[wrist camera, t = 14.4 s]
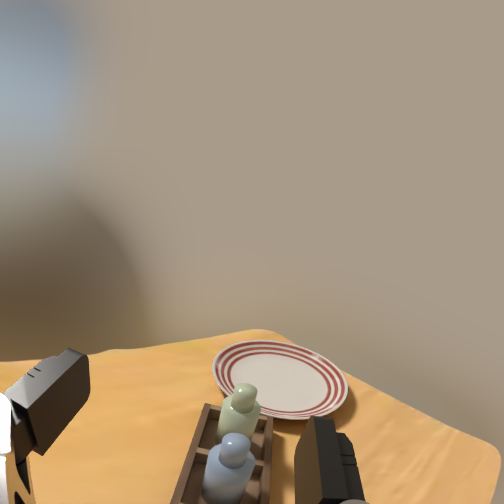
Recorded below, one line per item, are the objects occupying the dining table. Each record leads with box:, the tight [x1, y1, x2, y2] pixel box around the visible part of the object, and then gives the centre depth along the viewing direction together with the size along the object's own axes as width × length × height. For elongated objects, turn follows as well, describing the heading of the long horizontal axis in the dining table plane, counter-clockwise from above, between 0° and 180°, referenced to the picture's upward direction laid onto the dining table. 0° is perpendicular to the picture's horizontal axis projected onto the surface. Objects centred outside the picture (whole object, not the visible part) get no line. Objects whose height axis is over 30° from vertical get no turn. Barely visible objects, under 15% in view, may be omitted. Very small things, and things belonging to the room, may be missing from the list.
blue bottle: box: [201, 433, 255, 504], centre depth 30 cm, size 5×5×11 cm
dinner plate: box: [212, 340, 348, 420], centre depth 60 cm, size 28×27×3 cm
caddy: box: [170, 403, 273, 504], centre depth 36 cm, size 11×21×3 cm, turn 175°
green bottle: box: [215, 383, 261, 446], centre depth 40 cm, size 5×5×11 cm
